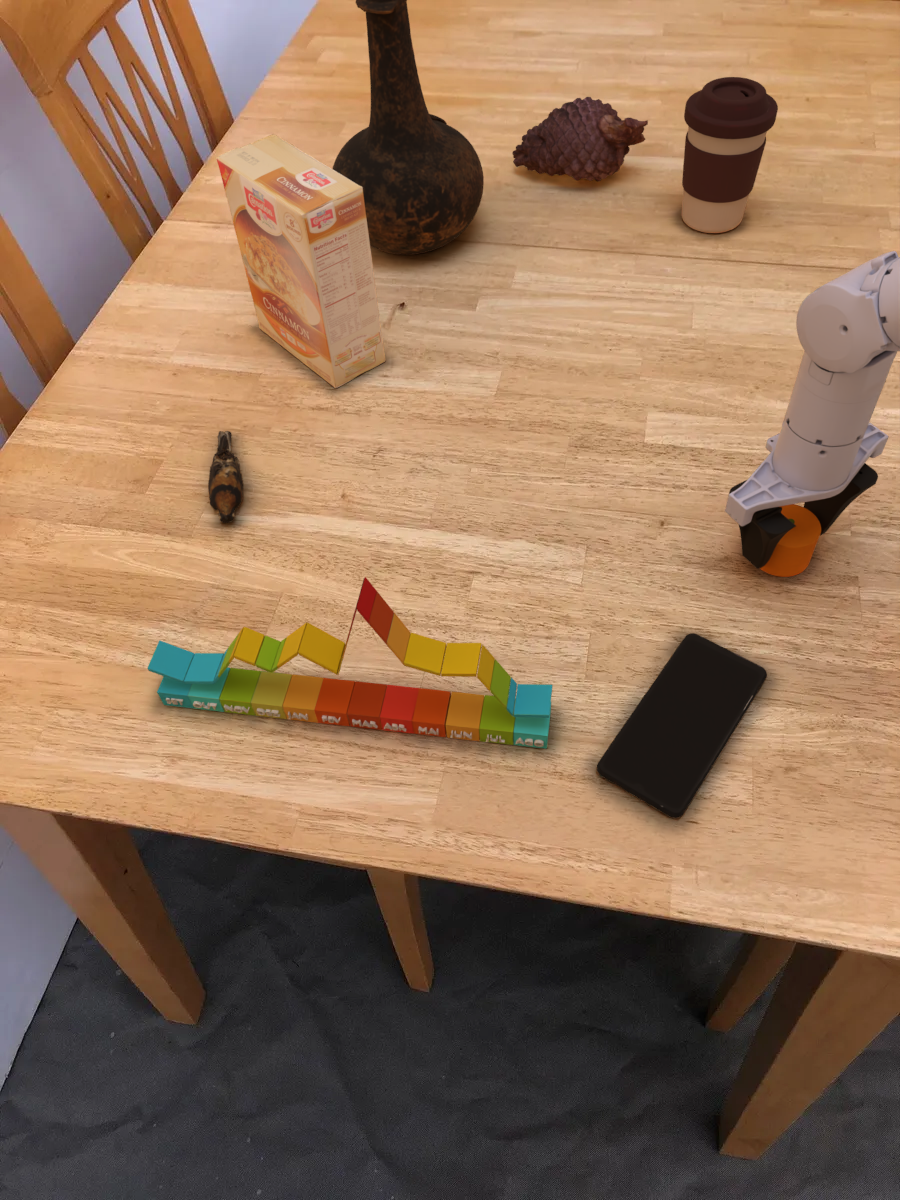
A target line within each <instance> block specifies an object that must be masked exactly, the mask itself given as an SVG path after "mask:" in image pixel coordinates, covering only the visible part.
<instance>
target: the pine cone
mask: <svg viewBox="0 0 900 1200" xmlns="http://www.w3.org/2000/svg"><path fill="white" fill-rule="evenodd" d="M648 124H649V120H648V119H647V120H638V119H636V118H632V117H625V118H624V119H622V118H620V117H619V115H618V111H617V110H616V109H614V108H613V107H612V105H611V104H610V103H609V102H606V103H603V101H602V100H601V99H597V98H596V99H593V98H592V97H591V96H586V97H585V98H583V99H582V98H581V97H577V98H575V99H574V100H573V101H568V102H565V103H563V104H562V105H561V107H559V108H558V107H555V108H553V109H552V110H551V111H550V112H549V113H548V115H547V117H546V118H545V119H543V120H542V121H541V122H540V123H538V125H534V126H532V128H528V130H526V134H523V135H522V136H521V144H517V145H516V146H515V150H512V153H511V154H512V157H513V165H514V166H515V168H518V167H524V168H526V169H527V171H531V172H533V171H535V173H537V174H538V175H542V174H547V175H548V176H550V177H553V176H555V175H557V176H564V175H567V176H568V177H572V179H574V180H575V181H579V180H581V179H582V180H583V179H584V180H587V181H590V182H591V181H593V180H594V181H596V182H597V183H599V182H601V181H602V180H605V179H606V178H607V177H608V176H612V175H614V174H615V173H617V172H618V171H619V170H620V167H621V166H622V165H623V163H624V162H625V157H626V156H627V154H629V153H630V146H635V145H638V144H641V143H644V142H645V140H646V138H645V135H644V134H643V133H644V131H645V127H646V126H648Z"/></svg>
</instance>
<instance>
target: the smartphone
mask: <svg viewBox="0 0 900 1200" xmlns="http://www.w3.org/2000/svg"><path fill="white" fill-rule="evenodd" d="M767 677H768V672H767V670H766V669H765V668H764V667H763V666H761V665H759V664H757V663H755V662H754V661H751V660H749V659H747V658H746V657H743V656H742V655H739V654H737V653H735V652H734V651H732V650H730V649H728V648H725V646H724V647H723V646H721V645H720V644H717V643H716V642H714V641H712V640H710V639H708V638H706V637H704V636H702V635H699V634H697V633H694V632H690V633H687V634H686V635H685V636H684V638H683V639H682V641H681V642H680V643H679V645H678V647H677V648H676V649H675V651H674V652H673V653H672V655H671V656H670V658H669V659H668V661H667V662H666V664H665V665H664V667H663V668H662V670H661V671H660V672H659V673H658V675H657V677H655V679H654V680H653V682H652V683H651V685H650V687H649V688H648V690H647V691H646V692H645V693H644V695H643V697H642V698H641V699H640V701H639V702H638V704H637V705H636V707H635V708H634V710H633V711H632V713H631V714H630V716H629V717H628V718H627V720H626V722H625V723H624V724H623V725H622V727H621V729H619V732H618V733H617V735H616V736H615V737H614V738H613V740H612V741H611V743H610V744H609V746H608V747H607V748H606V750H605V752H604V754H603V755H601V758H600V759H599V760H598V762H597V763H596V772H597V773H598V775H599V776H600V777H602V778H603V779H605V780H607V781H608V782H610V783H612V784H614V785H615V786H616V787H618V788H620V789H622V790H623V791H625V792H627V793H629V794H630V795H633V796H634V797H636V798H637V799H639V800H640V801H642V802H644V803H645V804H647V805H649V806H651V807H652V808H653V809H656V810H658V811H659V812H661V813H662V814H664V815H666V816H668V817H669V818H672V819H679V818H681V817H683V815H684V814H685V812H686V811H687V809H688V807H689V806H690V805H691V803H692V801H693V799H694V798H695V796H696V794H697V793H698V791H699V789H700V788H701V786H703V785H702V784H703V783H704V781H705V780H706V778H707V776H708V775H709V773H710V772H711V770H712V768H713V767H714V765H715V763H716V761H717V760H718V758H719V756H720V755H721V753H723V752H722V751H723V750H724V749H725V747H726V745H727V744H728V742H729V741H730V739H731V737H732V735H733V734H734V732H735V731H736V729H737V727H738V726H739V724H740V723H741V721H742V719H743V718H744V716H745V714H746V713H747V711H748V709H749V708H750V705H751V704H752V703H753V701H754V700H755V697H756V696H757V694H758V693H759V691H760V690H761V689H762V686H763V684H764V683H765V681H766V679H767Z"/></svg>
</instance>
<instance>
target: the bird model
mask: <svg viewBox="0 0 900 1200" xmlns="http://www.w3.org/2000/svg"><path fill="white" fill-rule="evenodd" d="M217 434H218V435H217V448H216V452H215V453H214V455H213V458H212V462H211V465H210V466H209V475H208V477H209V478H208V483H207V485H208V486H207V487H208V489H207V490H208V496H209V498H208V499H209V505H210V507H211V508H212V509H213V510H215V511H218V519H219V521H220V523H224V524H228V523H231V522H233V521H234V520H235V514H236V512H235V511H236V509H238V508H239V507H240V506H241V504H242V501H243V497H244V494H243V491H244V490H243V489H244V480H243V476H242V473H241V465H240V460H239V459H238V457H237V456H235V454H234V453H233V452H232V436H233V434H232V432H231V431H229V430H225V431H222V430H219V431H218V433H217Z"/></svg>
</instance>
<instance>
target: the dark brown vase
mask: <svg viewBox="0 0 900 1200" xmlns="http://www.w3.org/2000/svg"><path fill="white" fill-rule="evenodd" d="M407 1H408V0H355V5H356V7H357V8H358V9H360V10H361V11H362V12H364V13H365V21H366V35H367V47H368V50H367V51H368V60H369V81H370V82H369V83H370V84H369V85H370V115H369V124H368V126H367V127H365V128H364V129H361V130H359V132H357V133H355V134H354V135H353V136H351V138H349V139H348V140H347V141H346V142H345V144H344V145H343V146H342V148H341V149H340V150H339V152H338V154H337V155H336V158H335V160H334V162H333V165H332V169H333V170H335V171H336V172H338V173H340V174H341V175H343V176H345V177H346V178H348V179H350V180H351V181H353V182H354V183H356V184H358V185H359V186H362V188H363V196H364V204H365V212H366V219H367V226H368V234H369V241H370V248H371V247H372V248H373V249H375V250H378V251H381V252H383V253H386V254H387V253H388V254H392V255H404V256H406V255H408V256H409V255H418V254H424V253H428V252H432V251H434V250H437V249H440V248H442V247H444V246H446V245H448V244H450V243H451V242H453V241H454V240H456V239H457V238H459V236H460V235H461V234H462V233H463V232H464V231H465V230H466V229H467V228H468V227H469V225H470V224H471V223H472V221H473V220H474V218H475V216H476V214H477V212H478V211H479V207H480V204H481V202H482V199H483V193H484V185H485V184H484V183H485V182H484V181H485V180H484V178H485V177H484V170H483V166H482V163H481V159H480V157H479V155H478V153H477V151H476V149H475V148H474V146H473V145H472V143H471V142H470V141H469V139H467V137H466V136H465V135H464V134H462V133H461V132H460V131H459V130H457V129H456V128H454V127H453V126H452V125H449V124H447V121H445V119H443V118H441V117H439V116H437V115H435V114H432V113H429V110H428V107H427V105H426V101H425V98H424V94H423V90H422V85H421V81H420V77H419V72H418V66H417V62H416V57H415V51H414V46H413V41H412V40H413V39H412V34H411V24H410V23H411V22H410V17H409V10H408V8H409V7H408V2H407Z"/></svg>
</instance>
